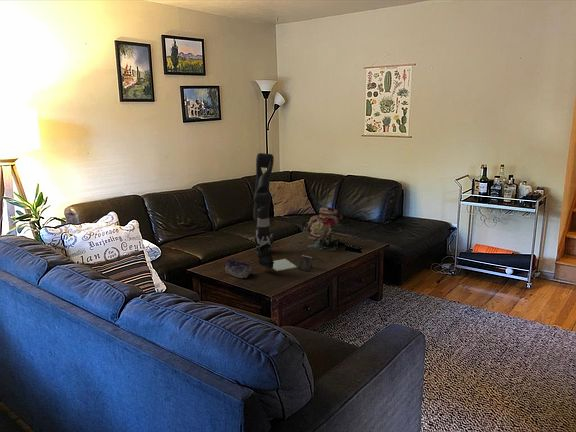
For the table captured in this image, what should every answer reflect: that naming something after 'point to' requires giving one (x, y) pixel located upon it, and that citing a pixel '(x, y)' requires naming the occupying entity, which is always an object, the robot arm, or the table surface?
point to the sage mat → (283, 265)
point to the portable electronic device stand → (308, 262)
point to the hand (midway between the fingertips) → (264, 251)
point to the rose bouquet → (324, 229)
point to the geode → (238, 268)
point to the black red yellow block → (265, 256)
